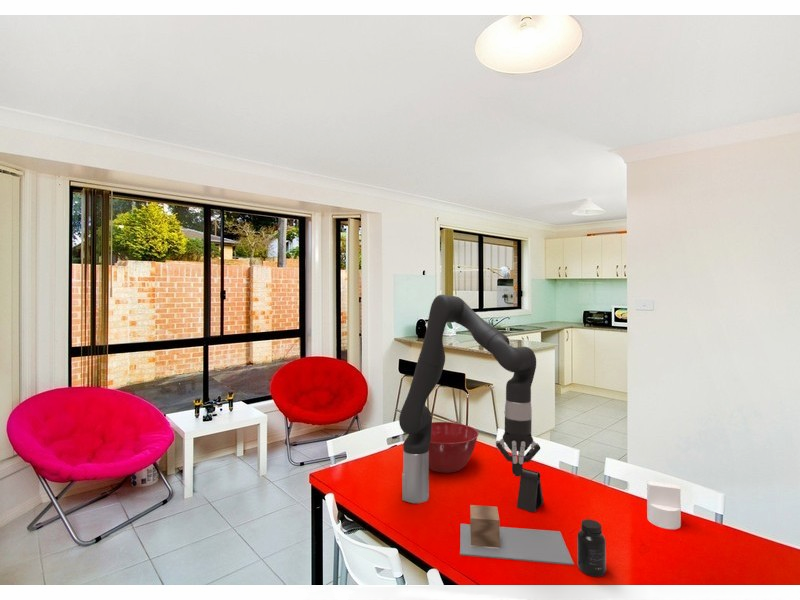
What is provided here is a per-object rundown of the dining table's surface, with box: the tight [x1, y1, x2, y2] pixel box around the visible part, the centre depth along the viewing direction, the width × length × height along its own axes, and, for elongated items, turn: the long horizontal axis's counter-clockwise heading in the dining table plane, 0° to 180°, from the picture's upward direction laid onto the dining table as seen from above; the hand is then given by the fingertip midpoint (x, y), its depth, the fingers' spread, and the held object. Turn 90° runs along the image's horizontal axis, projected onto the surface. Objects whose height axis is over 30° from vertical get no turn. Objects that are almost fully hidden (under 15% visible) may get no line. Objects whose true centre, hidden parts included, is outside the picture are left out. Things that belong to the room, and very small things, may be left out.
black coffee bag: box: [516, 468, 545, 514], centre depth 145 cm, size 9×6×12 cm, turn 140°
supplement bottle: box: [576, 518, 607, 578], centre depth 110 cm, size 7×7×12 cm
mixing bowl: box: [429, 421, 479, 474], centre depth 178 cm, size 28×28×16 cm
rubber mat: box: [459, 523, 575, 566], centre depth 122 cm, size 30×16×1 cm, turn 81°
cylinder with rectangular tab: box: [646, 481, 682, 530], centre depth 133 cm, size 9×9×12 cm
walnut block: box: [469, 504, 500, 549], centre depth 123 cm, size 8×8×8 cm
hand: (517, 475), depth 122 cm, fingers closed
